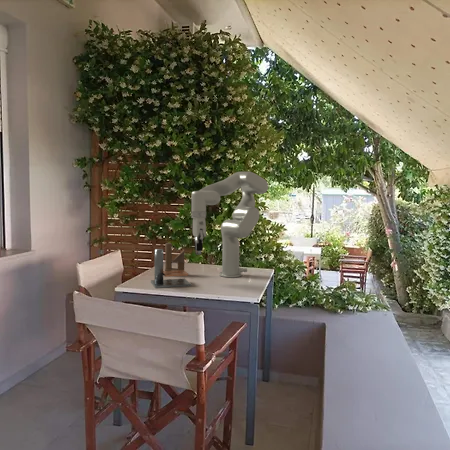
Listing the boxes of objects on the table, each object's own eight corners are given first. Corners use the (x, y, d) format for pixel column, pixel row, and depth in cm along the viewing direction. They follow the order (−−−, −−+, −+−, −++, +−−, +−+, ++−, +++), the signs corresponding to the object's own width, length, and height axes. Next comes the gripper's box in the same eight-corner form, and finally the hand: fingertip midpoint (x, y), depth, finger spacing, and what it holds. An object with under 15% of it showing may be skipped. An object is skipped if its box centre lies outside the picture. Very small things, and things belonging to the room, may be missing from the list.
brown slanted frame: (184, 275, 249) (184, 243, 247) (165, 275, 247) (165, 243, 246) (183, 274, 252) (184, 242, 251) (164, 274, 251) (164, 242, 249)
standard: (155, 288, 216) (155, 251, 215) (150, 282, 230) (150, 247, 228) (191, 286, 222) (191, 250, 221) (184, 280, 235) (184, 246, 234)
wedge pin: (200, 253, 232) (200, 234, 231) (201, 254, 229) (202, 235, 229) (194, 253, 231) (195, 234, 230) (196, 254, 228) (196, 235, 228)
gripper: (210, 215, 222) (209, 252, 224) (201, 213, 237) (201, 247, 239) (195, 216, 220) (195, 252, 221) (187, 214, 235) (187, 248, 237)
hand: (198, 249), depth 230 cm, fingers closed on wedge pin, 3 cm apart
